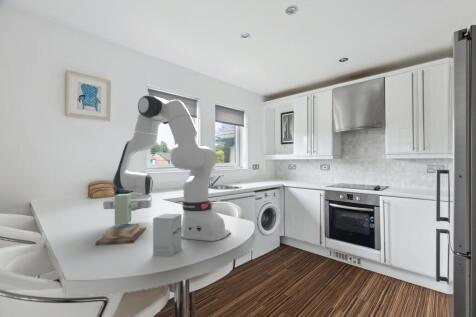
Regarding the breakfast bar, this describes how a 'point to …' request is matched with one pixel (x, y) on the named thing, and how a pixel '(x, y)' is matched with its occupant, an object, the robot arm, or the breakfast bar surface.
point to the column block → (122, 208)
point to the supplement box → (167, 234)
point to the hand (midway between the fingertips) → (122, 206)
